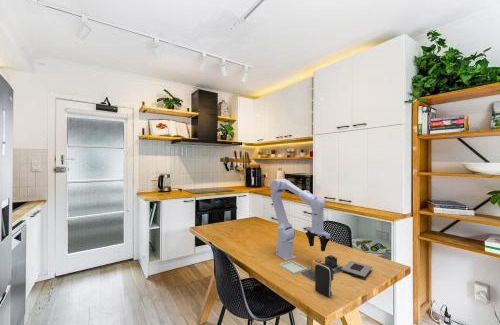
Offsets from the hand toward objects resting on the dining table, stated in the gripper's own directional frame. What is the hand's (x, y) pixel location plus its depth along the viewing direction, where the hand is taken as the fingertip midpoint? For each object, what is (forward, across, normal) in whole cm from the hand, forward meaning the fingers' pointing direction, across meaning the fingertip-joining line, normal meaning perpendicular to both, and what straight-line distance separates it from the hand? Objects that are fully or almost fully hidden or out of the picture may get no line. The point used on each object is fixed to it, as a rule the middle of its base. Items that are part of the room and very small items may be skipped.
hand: (317, 248), depth 119 cm
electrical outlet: (+10, +14, +13) cm, 21 cm away
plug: (+8, +6, -6) cm, 12 cm away
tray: (+9, -4, -12) cm, 16 cm away
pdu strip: (+9, +6, -2) cm, 11 cm away
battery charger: (+10, +19, -16) cm, 26 cm away
